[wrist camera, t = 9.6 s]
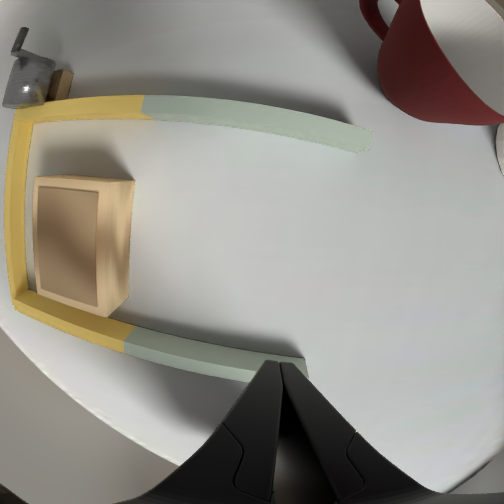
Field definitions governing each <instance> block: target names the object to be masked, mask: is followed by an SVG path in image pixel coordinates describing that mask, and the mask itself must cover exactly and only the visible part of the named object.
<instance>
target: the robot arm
mask: <svg viewBox="0 0 504 504" xmlns="http://www.w3.org/2000/svg"><path fill="white" fill-rule="evenodd" d="M355 432H356V430H355V429H354V428H353V427H352V426H351V425H350V424H349V423H348V422H347V421H346V420H345V418H344V417H343V416H342V415H341V414H340V413H339V412H338V411H337V410H336V409H335V408H334V407H333V406H332V405H331V404H330V403H329V401H328V400H327V399H326V398H325V397H324V396H323V395H322V394H321V393H320V392H319V391H318V390H317V389H316V387H315V386H314V385H313V384H312V383H311V382H310V381H309V380H308V379H307V378H306V376H305V375H304V374H303V373H302V372H301V371H300V370H299V369H298V368H297V366H296V365H295V364H294V363H292V362H284V361H281V362H278V361H275V360H268V359H266V360H265V361H264V362H263V363H262V365H261V366H260V368H259V369H258V371H257V372H256V374H255V375H254V377H253V378H252V380H251V381H250V383H249V384H248V386H247V387H246V388H245V390H244V391H243V393H242V394H241V396H240V397H239V398H238V400H237V401H236V403H235V404H234V405H233V407H232V408H231V410H230V411H229V412H228V414H227V415H226V417H225V418H224V419H223V421H222V422H221V424H219V426H218V427H217V428H216V430H215V431H214V432H213V434H212V435H211V436H210V437H209V438H208V440H207V441H206V442H205V443H204V444H203V445H202V446H201V447H200V448H199V449H198V450H197V451H196V452H195V453H194V454H193V455H192V456H191V457H190V458H189V459H188V460H186V461H185V462H184V463H183V464H182V465H181V466H179V468H177V469H176V470H175V471H174V472H172V473H171V474H170V475H169V476H167V477H166V478H165V479H164V480H162V481H161V482H160V483H159V484H157V485H156V486H155V487H153V488H152V489H151V490H149V491H147V492H146V493H144V494H142V495H140V496H138V497H135V498H132V499H130V500H126V501H122V502H118V503H114V504H504V492H500V493H486V494H446V493H439V492H435V491H432V490H430V489H428V488H425V487H424V486H422V485H421V484H419V483H418V482H416V481H415V480H414V479H412V478H411V477H410V476H408V475H407V474H406V473H404V472H403V471H402V470H400V469H399V468H398V467H396V466H395V465H394V464H392V463H391V462H390V461H389V460H387V459H386V458H385V457H384V456H383V455H381V454H380V453H379V452H378V451H377V450H376V449H374V448H373V447H372V446H371V445H370V444H369V443H368V442H367V441H366V440H365V439H364V438H363V437H362V436H361V435H360V434H359V433H358V432H356V433H355ZM0 504H28V503H26V502H25V501H24V500H22V499H21V498H19V497H18V496H17V495H15V494H14V493H13V492H11V491H10V490H9V489H7V488H6V487H5V486H3V485H2V484H0Z"/></svg>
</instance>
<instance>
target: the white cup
mask: <svg viewBox="0 0 504 504" xmlns="http://www.w3.org/2000/svg"><path fill="white" fill-rule="evenodd" d="M496 151H497V159H498V162H499V165H500V168H501V171H502V174H503V175H504V123H501V124H500V125H499V127H498V129H497V135H496Z"/></svg>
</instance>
